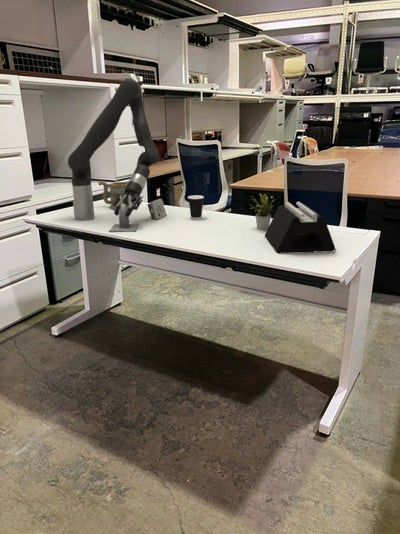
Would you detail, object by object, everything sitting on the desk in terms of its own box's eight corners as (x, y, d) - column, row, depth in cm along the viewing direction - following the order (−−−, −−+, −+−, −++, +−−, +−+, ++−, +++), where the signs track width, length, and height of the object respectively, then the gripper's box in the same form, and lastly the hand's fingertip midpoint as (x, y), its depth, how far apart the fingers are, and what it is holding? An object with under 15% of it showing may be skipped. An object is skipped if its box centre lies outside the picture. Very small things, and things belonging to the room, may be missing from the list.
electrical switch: (156, 220, 208) (154, 201, 206) (148, 220, 211) (146, 201, 208) (167, 216, 216) (164, 198, 213) (158, 216, 219) (156, 198, 216)
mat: (109, 232, 188) (109, 230, 188) (114, 225, 200) (114, 224, 199) (135, 231, 188) (135, 230, 188) (139, 225, 199) (139, 223, 199)
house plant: (241, 225, 196) (242, 190, 191) (269, 223, 199) (270, 189, 193) (251, 233, 183) (252, 196, 178) (280, 230, 186) (282, 194, 180)
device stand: (276, 254, 156) (278, 214, 151) (264, 237, 177) (265, 202, 172) (335, 252, 157) (339, 213, 152) (316, 235, 178) (319, 201, 173)
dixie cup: (203, 216, 214) (203, 195, 211) (204, 220, 207) (204, 198, 203) (187, 217, 214) (187, 195, 210) (188, 220, 206) (188, 198, 203)
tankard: (137, 206, 241) (135, 180, 235) (126, 211, 230) (123, 183, 224) (107, 204, 247) (105, 178, 242) (95, 208, 236) (92, 182, 231)
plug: (117, 227, 193) (116, 205, 190) (124, 225, 197) (122, 203, 193) (125, 228, 191) (123, 206, 187) (131, 226, 194) (129, 204, 191)
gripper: (119, 179, 196) (104, 209, 191) (144, 181, 189) (129, 212, 184) (127, 189, 202) (113, 218, 197) (151, 191, 195) (137, 221, 190)
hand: (121, 215), depth 190 cm, fingers open, 6 cm apart
